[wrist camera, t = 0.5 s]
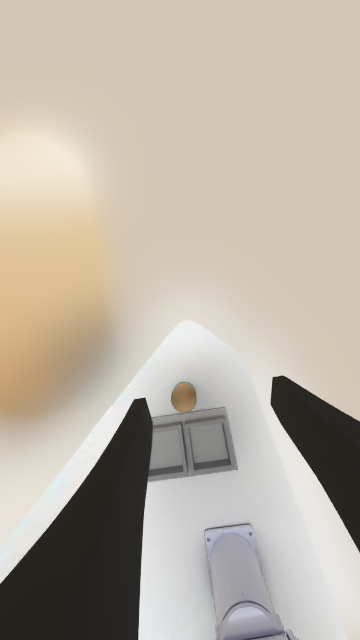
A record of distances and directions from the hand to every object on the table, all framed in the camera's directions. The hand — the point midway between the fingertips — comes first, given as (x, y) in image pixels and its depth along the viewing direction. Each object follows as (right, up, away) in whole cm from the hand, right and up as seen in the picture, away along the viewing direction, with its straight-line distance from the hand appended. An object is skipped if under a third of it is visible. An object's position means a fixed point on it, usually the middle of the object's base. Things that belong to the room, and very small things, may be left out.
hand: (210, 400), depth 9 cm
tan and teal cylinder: (-1, -10, +25) cm, 27 cm away
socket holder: (-1, -19, +22) cm, 29 cm away
